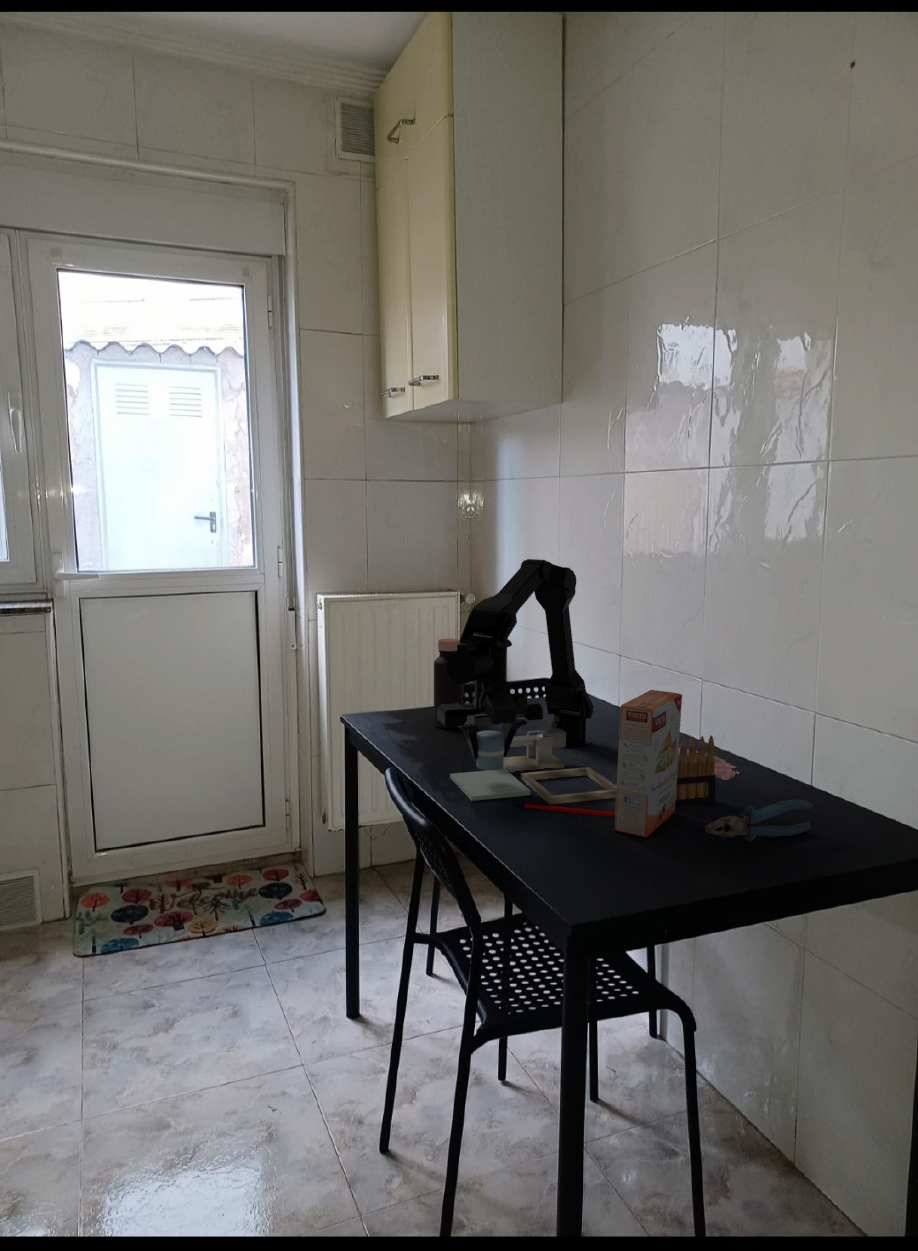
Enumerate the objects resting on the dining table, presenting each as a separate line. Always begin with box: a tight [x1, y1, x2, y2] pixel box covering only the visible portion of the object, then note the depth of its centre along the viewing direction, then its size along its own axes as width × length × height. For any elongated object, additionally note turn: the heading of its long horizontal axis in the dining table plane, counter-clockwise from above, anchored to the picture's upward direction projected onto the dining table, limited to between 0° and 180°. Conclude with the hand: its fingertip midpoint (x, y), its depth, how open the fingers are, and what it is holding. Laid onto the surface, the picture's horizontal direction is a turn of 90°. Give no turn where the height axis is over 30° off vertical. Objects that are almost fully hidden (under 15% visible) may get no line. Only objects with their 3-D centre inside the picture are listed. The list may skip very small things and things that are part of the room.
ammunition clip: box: [675, 735, 717, 808], centre depth 152 cm, size 11×2×12 cm, turn 106°
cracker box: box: [614, 689, 683, 839], centre depth 143 cm, size 14×6×21 cm, turn 148°
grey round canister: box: [475, 730, 504, 771], centre depth 160 cm, size 5×5×6 cm
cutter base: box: [502, 730, 566, 773], centre depth 174 cm, size 12×7×6 cm, turn 107°
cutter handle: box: [510, 728, 567, 749], centre depth 173 cm, size 17×3×3 cm, turn 107°
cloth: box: [678, 746, 740, 781], centre depth 177 cm, size 20×22×2 cm
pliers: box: [704, 799, 814, 842], centre depth 137 cm, size 20×2×6 cm, turn 111°
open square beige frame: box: [520, 766, 617, 806], centre depth 161 cm, size 14×14×1 cm
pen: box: [515, 801, 615, 818], centre depth 149 cm, size 1×19×1 cm, turn 74°
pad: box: [449, 768, 531, 802], centre depth 161 cm, size 11×13×1 cm
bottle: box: [433, 638, 464, 730], centre depth 202 cm, size 7×7×20 cm
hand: (489, 757), depth 161 cm, fingers closed on grey round canister, 5 cm apart
